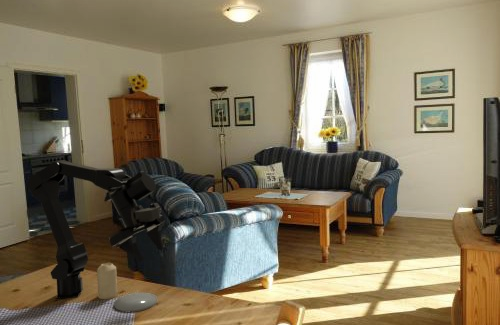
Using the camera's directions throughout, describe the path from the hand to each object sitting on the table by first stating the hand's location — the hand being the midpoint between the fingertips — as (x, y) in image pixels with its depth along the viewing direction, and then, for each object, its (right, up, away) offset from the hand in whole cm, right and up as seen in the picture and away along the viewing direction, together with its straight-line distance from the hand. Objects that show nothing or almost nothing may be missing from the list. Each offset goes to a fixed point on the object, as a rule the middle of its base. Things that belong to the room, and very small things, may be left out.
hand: (152, 255), depth 116 cm
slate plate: (-5, -14, +1) cm, 15 cm away
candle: (-15, -14, +8) cm, 22 cm away
